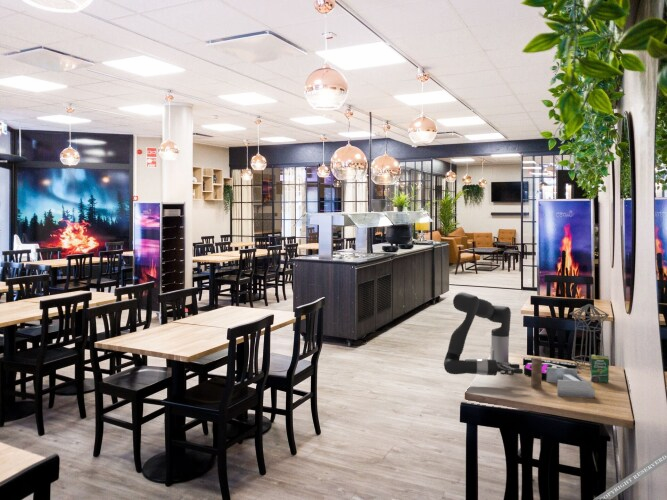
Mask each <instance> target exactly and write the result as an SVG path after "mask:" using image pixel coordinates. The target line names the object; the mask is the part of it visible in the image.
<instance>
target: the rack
mask: <svg viewBox="0 0 667 500" xmlns="http://www.w3.org/2000/svg"><path fill="white" fill-rule="evenodd" d="M563 375H571V376H573V377H575V378H576V379H578V380H580V381H573V380H563ZM545 381H546V383H552V384H553V383H554V384H556V383H557V384H556V385H557V386H556V396H558V397H570V398H571V397H573V398H588V399H594V398H595V388H594V387H593V386H592V381H591V380H589V381H588V380H586V379H584V378H583V377H582V376H581V374H578V368H577V369H570V368H550V367H547V372H546V380H545Z"/></svg>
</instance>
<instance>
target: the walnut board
mask: <svg viewBox="0 0 667 500" xmlns="http://www.w3.org/2000/svg"><path fill="white" fill-rule="evenodd" d="M531 358H532V376H531V378H530V379H531V382H530V384H531V385H530V387H531V388H532V389H540V390H541V389H542V381H543V380H542V359H543V358H542V357H535V356H534V357H531Z"/></svg>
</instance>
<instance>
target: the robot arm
mask: <svg viewBox="0 0 667 500" xmlns="http://www.w3.org/2000/svg"><path fill="white" fill-rule="evenodd" d="M452 304H453V307H454V309H455V310H457V311H460V312H462V313H466V315H465V318H464V320H463V321H462V323H460V325H458V327H456V329H454V331H453V332H452V334H451V336H450V340H449V343H448V348H447V352H446V354H445V358H444V362H443V367H444V368H443V369H444V371H445V372H446V373H448V374H450V375H464V374H469V375H470V374H471V375H480V376H492V377H493V376H497V374H498V372H499V374H500V375H505V376H506V375H508V376H509V375H510V376H514V375H515V374H517V375H518V374H519V375H520V374H521V375H524V368H520V365H521V364H518V363H510V362H509V358H510V357H509V355H510V350H509V348H510V347H509V346H510V332H511V318H512V312H511V308H510V307H509V306H504V305H503V306H502V305H493V304H492V303H491V302H490V301H488V300H486V299H483V298H479V297H478V296H477V295H473V294H470V293H467V292H461V291H460V292H457V293H456V294H455V296H454V297H453V300H452ZM475 317H478V318H481V319H487V320H489V321H491V322H492V323H497V324H498V323H499V324H501V326H499V327H496V328H492V330H491V334H490V335H491V336H490V337H491V340H490V341H491V342H490V343H491V345H490V352H489V353H490V356H489V357H490V358H489V359H486V358H485V359H484V358H480V359H479V358H476V359H475V358H467V359H464V360H463V359H462V360H461V359H460V358H461V355H462V353H463V351H464V348H465V344H466V341H467V340H466V339H467V336H468V333H469V331H470V329H471V326H472V324H473V322H474V319H475Z"/></svg>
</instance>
